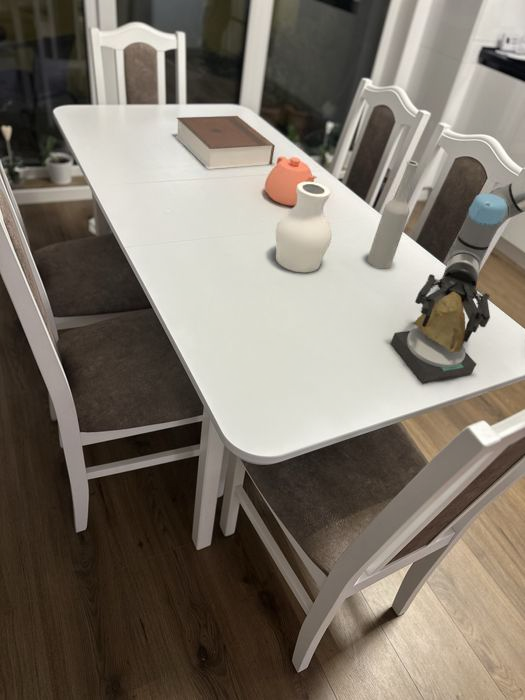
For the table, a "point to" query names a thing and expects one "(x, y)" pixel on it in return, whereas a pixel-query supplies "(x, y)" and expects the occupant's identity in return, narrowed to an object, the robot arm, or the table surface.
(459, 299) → the rock
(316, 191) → the vase
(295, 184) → the teapot
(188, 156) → the table surface
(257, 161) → the book
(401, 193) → the bottle
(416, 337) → the scale
